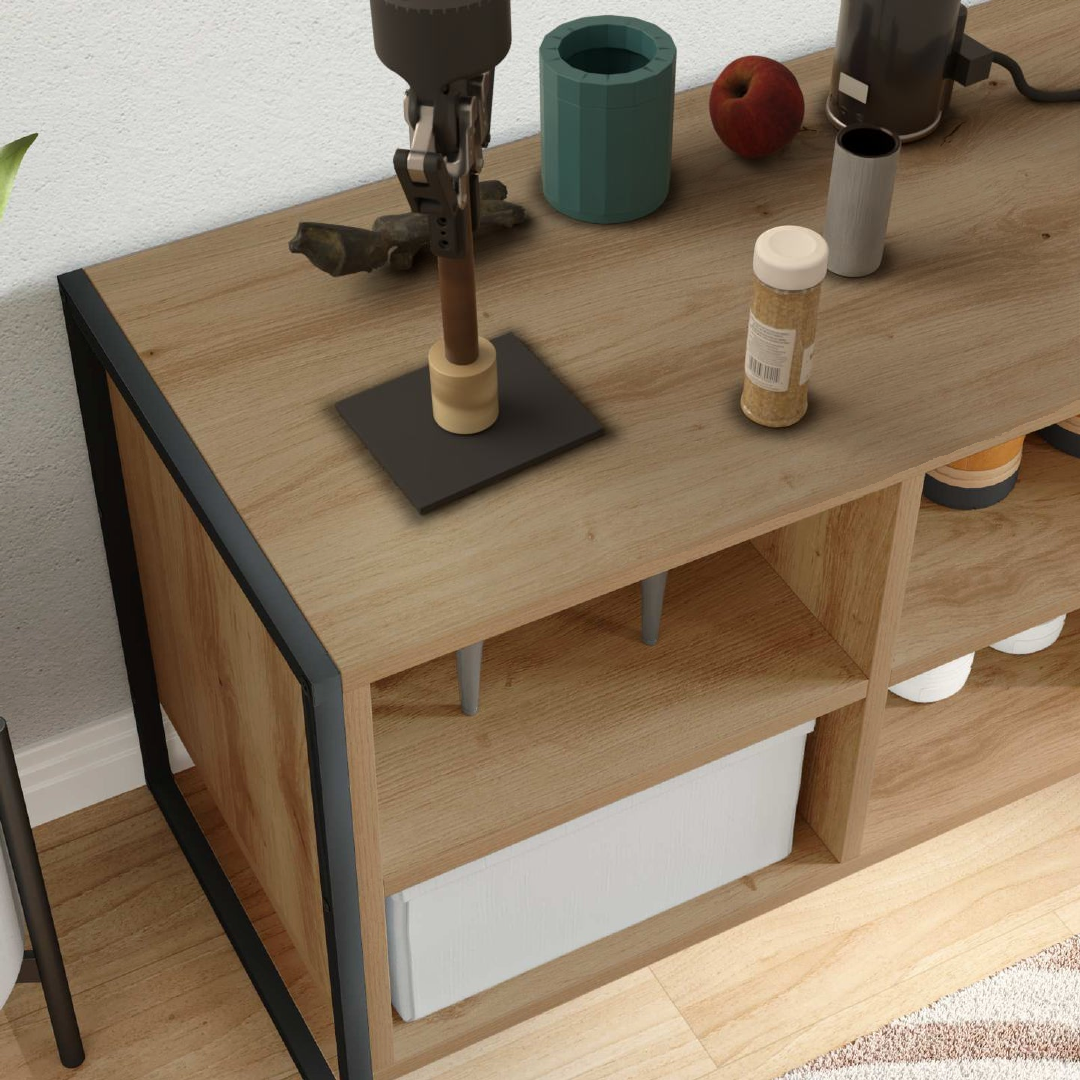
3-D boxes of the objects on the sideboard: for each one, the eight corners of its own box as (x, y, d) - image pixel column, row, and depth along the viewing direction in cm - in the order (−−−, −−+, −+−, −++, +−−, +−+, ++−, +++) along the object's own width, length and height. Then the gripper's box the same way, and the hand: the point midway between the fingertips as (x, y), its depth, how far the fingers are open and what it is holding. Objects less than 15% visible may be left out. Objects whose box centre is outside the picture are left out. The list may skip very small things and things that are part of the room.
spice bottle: (820, 413, 106) (845, 249, 96) (767, 439, 104) (787, 275, 95) (777, 376, 109) (797, 213, 99) (725, 401, 107) (740, 238, 97)
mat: (511, 337, 112) (511, 331, 112) (604, 434, 105) (604, 427, 105) (335, 409, 107) (334, 402, 107) (420, 515, 100) (419, 508, 100)
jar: (622, 138, 130) (626, 2, 121) (694, 197, 124) (702, 58, 115) (519, 176, 126) (514, 38, 117) (587, 238, 120) (588, 98, 111)
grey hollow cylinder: (842, 284, 116) (861, 163, 108) (807, 252, 118) (823, 132, 111) (893, 266, 117) (914, 146, 110) (857, 235, 120) (876, 115, 112)
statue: (490, 228, 126) (272, 283, 115) (492, 161, 123) (268, 212, 112) (540, 253, 122) (318, 313, 111) (542, 185, 119) (315, 239, 108)
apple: (689, 136, 130) (694, 47, 124) (772, 115, 132) (782, 26, 126) (730, 183, 125) (738, 92, 119) (816, 160, 127) (828, 70, 121)
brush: (477, 382, 108) (463, 140, 94) (511, 418, 105) (501, 174, 91) (421, 405, 106) (398, 162, 92) (453, 443, 103) (435, 198, 90)
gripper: (473, 41, 78) (487, 319, 90) (537, -84, 87) (542, 184, 99) (328, 26, 79) (362, 302, 91) (407, -96, 88) (428, 170, 101)
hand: (456, 239), depth 95 cm, fingers closed on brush, 2 cm apart
